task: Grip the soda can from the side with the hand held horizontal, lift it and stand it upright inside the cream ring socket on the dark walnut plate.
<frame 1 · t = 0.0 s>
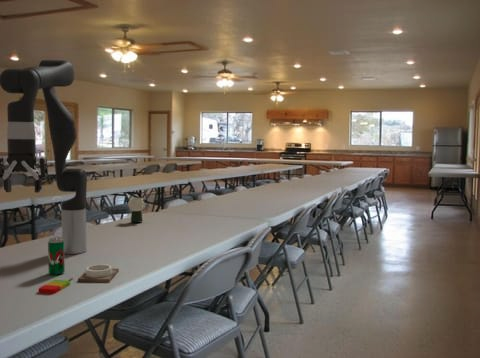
hand: (22, 192, 140), 29 cm above the table, tool pointing down, fingers open, 8 cm apart
soda can: (56, 274, 157), on the table
socket plate: (99, 276, 155), on the table
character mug: (136, 222, 251), on the table
popsicle: (59, 287, 145), on the table
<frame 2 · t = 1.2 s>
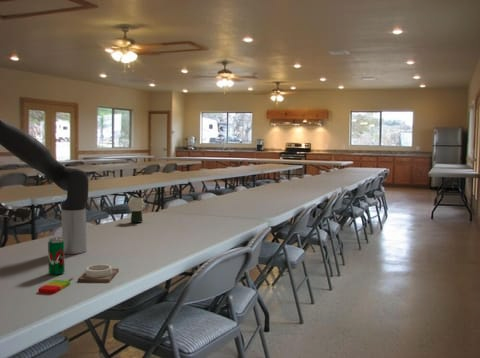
hand: (29, 214, 154), 20 cm above the table, tool horizontal, fingers open, 8 cm apart
nothing on the table moved.
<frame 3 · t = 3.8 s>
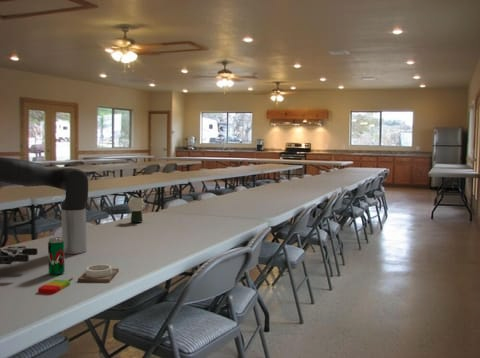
hand: (32, 254, 156), 6 cm above the table, tool horizontal, fingers open, 8 cm apart
nothing on the table moved.
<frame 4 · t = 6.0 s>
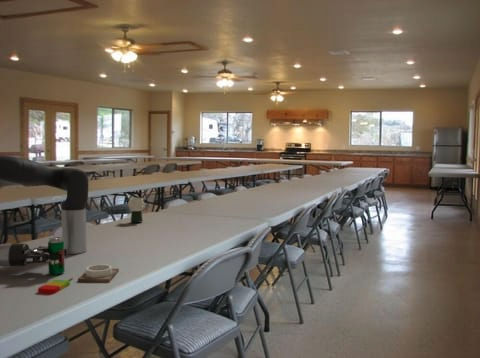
hand: (64, 254, 157), 7 cm above the table, tool horizontal, fingers closed on soda can, 5 cm apart
soda can: (56, 274, 157), on the table, touching gripper
everything else where it was.
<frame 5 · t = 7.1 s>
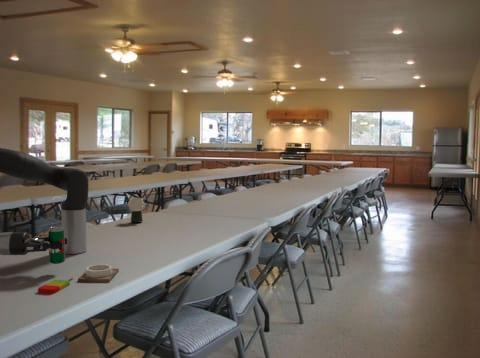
hand: (64, 243, 157), 10 cm above the table, tool horizontal, fingers closed on soda can, 5 cm apart
soda can: (57, 262, 157), point 4 cm above the table, touching gripper
everything else where it was.
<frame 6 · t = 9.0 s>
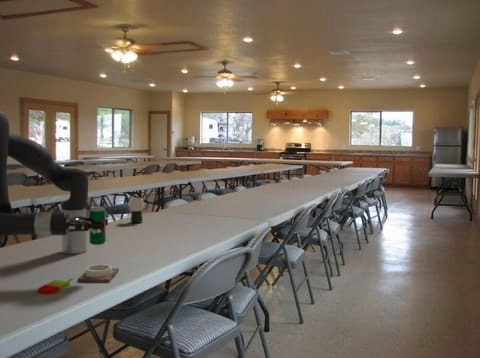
hand: (105, 223, 153), 18 cm above the table, tool horizontal, fingers closed on soda can, 5 cm apart
soda can: (97, 244, 153), point 11 cm above the table, touching gripper
everything else where it was.
when the fingers open (9 cm above the table, at t = 11.5 s): soda can drops 1 cm, resting on socket plate.
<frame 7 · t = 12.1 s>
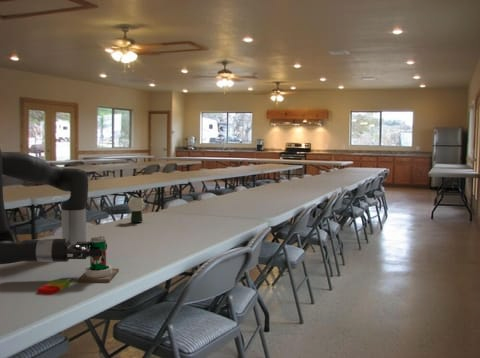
hand: (104, 249, 154), 9 cm above the table, tool horizontal, fingers open, 8 cm apart
soda can: (98, 274, 154), point 1 cm above the table, touching socket plate
everything else where it was.
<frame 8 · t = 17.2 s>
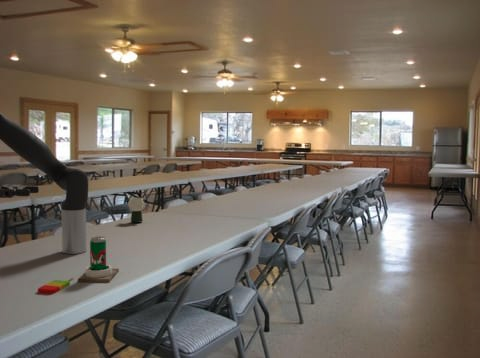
hand: (34, 191, 153), 28 cm above the table, tool horizontal, fingers open, 8 cm apart
nothing on the table moved.
at the end: soda can 0.2 cm from the socket plate (horizontally); soda can tilted 0°; the gripper is holding nothing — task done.
